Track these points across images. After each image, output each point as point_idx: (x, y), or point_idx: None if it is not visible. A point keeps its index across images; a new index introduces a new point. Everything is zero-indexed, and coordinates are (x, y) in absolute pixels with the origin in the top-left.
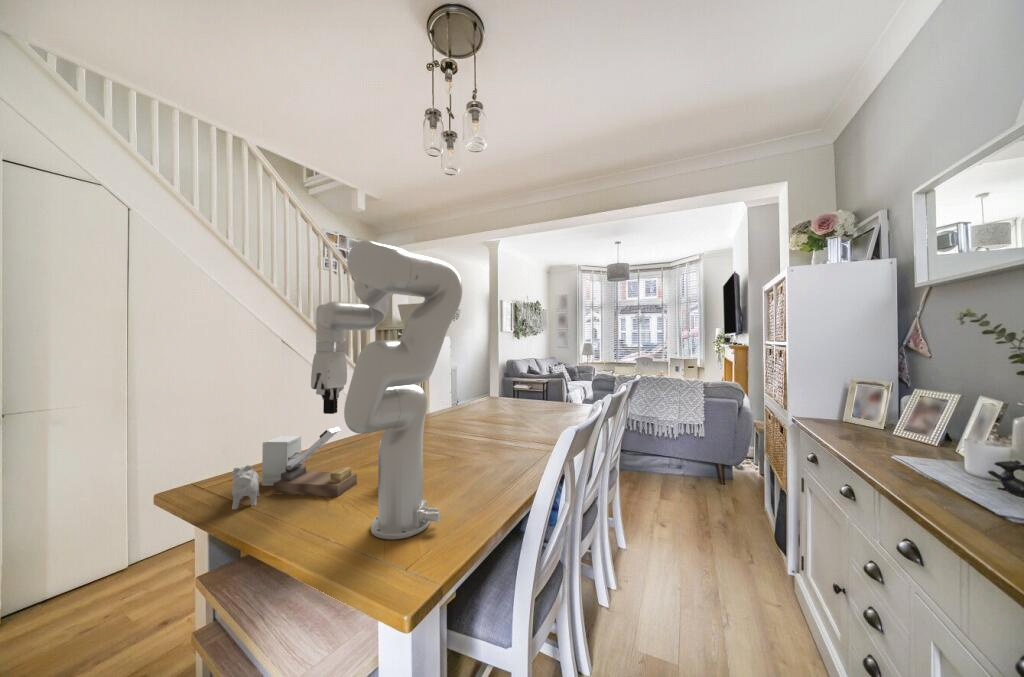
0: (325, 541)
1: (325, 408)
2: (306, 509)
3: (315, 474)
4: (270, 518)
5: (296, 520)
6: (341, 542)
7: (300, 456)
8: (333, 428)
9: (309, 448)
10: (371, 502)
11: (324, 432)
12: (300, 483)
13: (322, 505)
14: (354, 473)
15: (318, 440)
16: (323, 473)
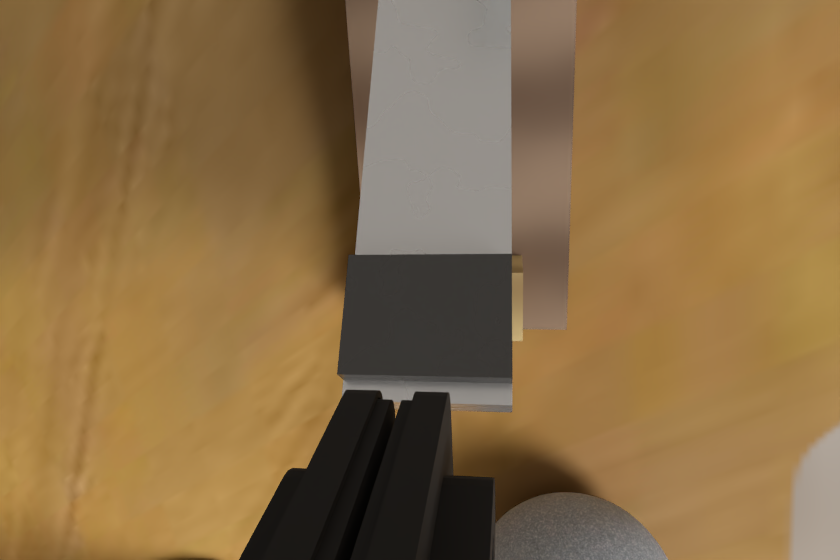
0: (66, 467)
1: (282, 503)
2: (232, 244)
3: (519, 61)
4: (118, 145)
5: (141, 274)
6: (79, 514)
7: (377, 22)
8: (452, 378)
9: (368, 121)
10: None
11: (343, 332)
12: (355, 82)
13: (284, 290)
14: (564, 316)
15: (358, 235)
16: (545, 107)
